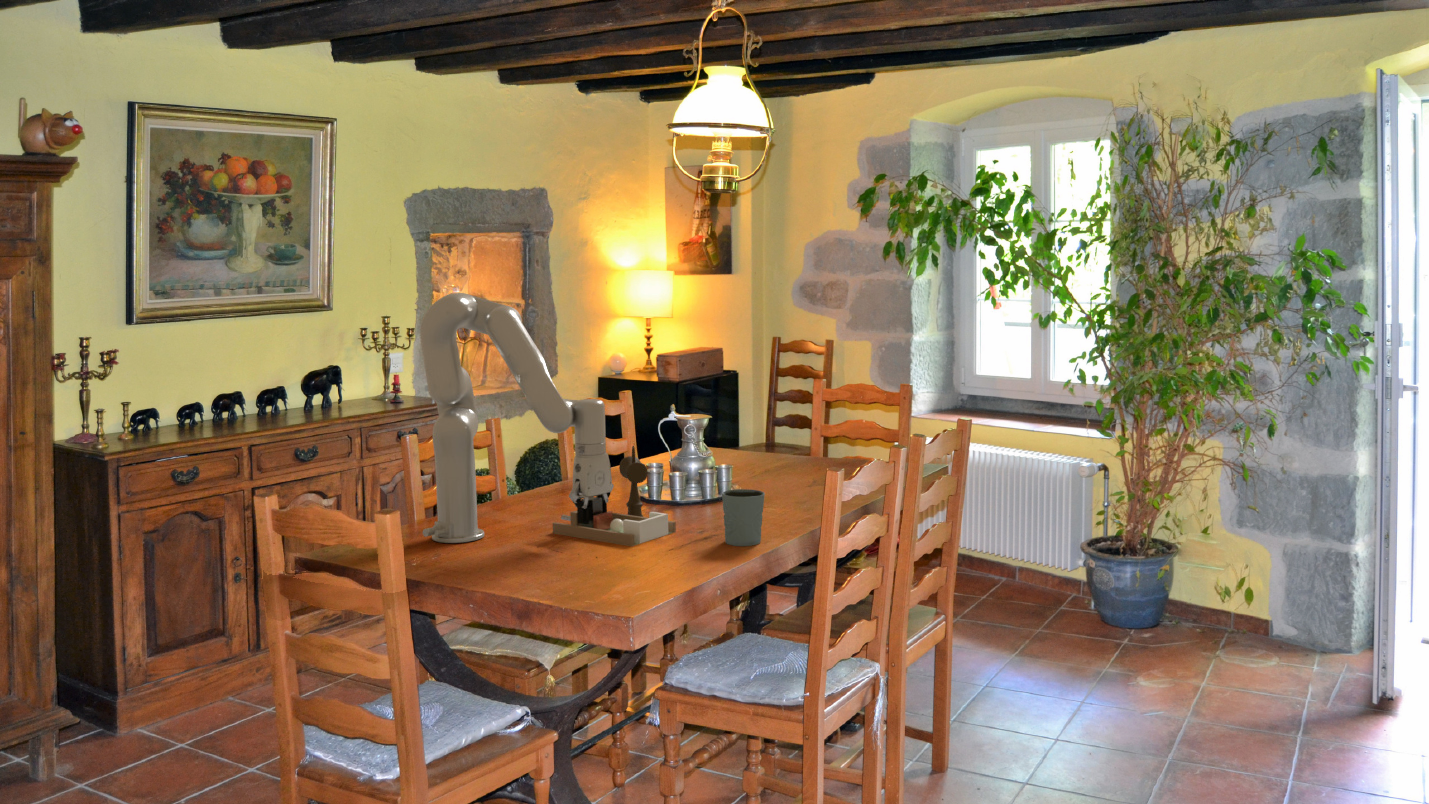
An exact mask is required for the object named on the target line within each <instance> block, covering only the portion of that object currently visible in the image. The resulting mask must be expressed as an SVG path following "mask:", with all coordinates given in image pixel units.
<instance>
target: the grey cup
mask: <svg viewBox="0 0 1429 804" xmlns="http://www.w3.org/2000/svg"><path fill="white" fill-rule="evenodd" d="M721 496H722V510H723V513H724V515H723V526H724V541H725V544H727V545H730V546H733V547H751V546H755V545H756V546H757V545H759V544H760V543H761V541H762V526H763V512H764V506H765V505H764V504H765V503H764V502H765V492H764V491H761V490H756V489H749V488H748V489H747V488H746V489H744V488H742V489H740V488H739V489H737V488H736V489H727V490H725V491H722V492H721Z"/></svg>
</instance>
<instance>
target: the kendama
mask: <svg viewBox="0 0 1429 804" xmlns="http://www.w3.org/2000/svg"><path fill="white" fill-rule="evenodd" d="M618 469H619V473H620V475H621V476H622V477H623V478H625V479H627V480H628V481H629V482H630V492H629V497H628V501H627V502H626V503H625V505H626V507H627V514H626V515H633V516H639V517H644V516H643V513H642V507H643V502H642V501H641V498H640V493H639V488H638V484H642V483H643V482H645V481H646V479H647V478H648V474H649V471H648V467H647V465H646V464H644V463H643V462H641V460H640V459H639V458H638V457H637V456H636V448H635V446H634V445H633V446H632V447H631V455H628V456H625V457H624V458H622V459H621V461H620V462H619V466H618Z"/></svg>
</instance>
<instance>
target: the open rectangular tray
mask: <svg viewBox="0 0 1429 804" xmlns="http://www.w3.org/2000/svg"><path fill="white" fill-rule="evenodd" d="M612 515H613V520H614V519H621V520H622V521H623V531H622V532H614V531H612V530H611V528H609V529H606V530H601V529H595V528H589V527H582V524H581V523H578V516H577V510H574V511H570V513H569V516H570V518H571V521H570V524H569V523H561V522H556V521H555V522H552V534H557V535H561V536H562V535H563V536H569V537H574V538H580V539H586V540H592V541H597V542H604V543H611V544H614V545H615V544H616V545H622V546H628V547H634V546H636V545H640V544H643V543H646V542H649V541H651V540H656V539H658V538H662V537H664V536H668V535H671V534H674V533H676V532H677V528H676V526H677V523H676V521H672V520H669V514H668V513H663V512H657V511H650V512H648V515H649V516H648V517H645V516H643V517H639V516H633V515H627V514H624V513H617V512H612Z"/></svg>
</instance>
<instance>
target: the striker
mask: <svg viewBox="0 0 1429 804" xmlns="http://www.w3.org/2000/svg"><path fill="white" fill-rule="evenodd" d="M583 499H584V498H582V499H581V501H582V502H583ZM586 508H588V509H589V524H582V527H589V528H595V529H601V530H606V529H609V528H610V524H611V522H612V521H613V515H612V513H613V511H611V510H610V511H608V510H607V512H605V513H603V511H602V498H598V497H596V496H594V497H589V499H588V503H587V507H586ZM560 519H561V520H563V521H570V522H571V518H570V515H565V514H562V515H561V517H560Z"/></svg>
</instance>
